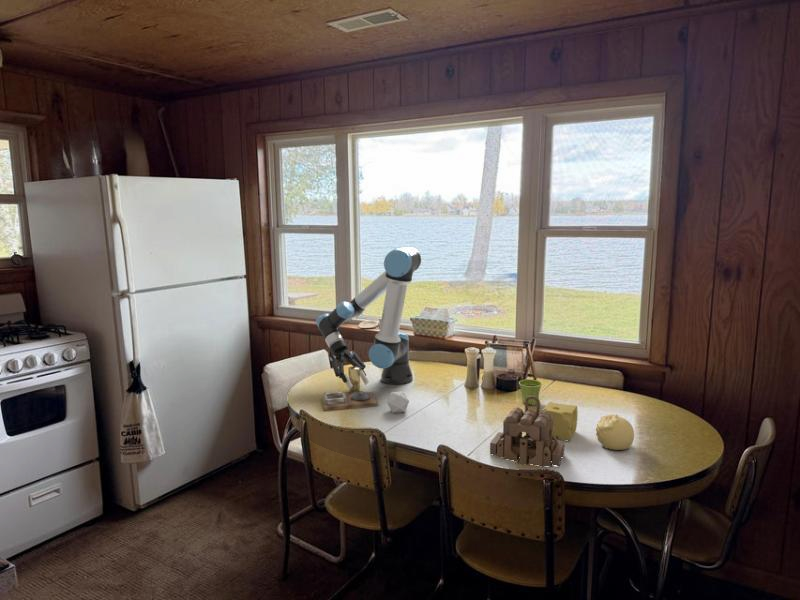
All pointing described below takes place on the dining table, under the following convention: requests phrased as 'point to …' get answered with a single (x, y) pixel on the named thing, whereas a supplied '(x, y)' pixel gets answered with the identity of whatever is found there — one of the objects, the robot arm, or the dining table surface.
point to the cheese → (563, 419)
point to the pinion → (354, 378)
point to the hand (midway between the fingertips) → (358, 385)
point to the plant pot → (530, 389)
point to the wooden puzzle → (528, 437)
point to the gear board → (348, 400)
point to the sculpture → (615, 432)
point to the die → (398, 402)
